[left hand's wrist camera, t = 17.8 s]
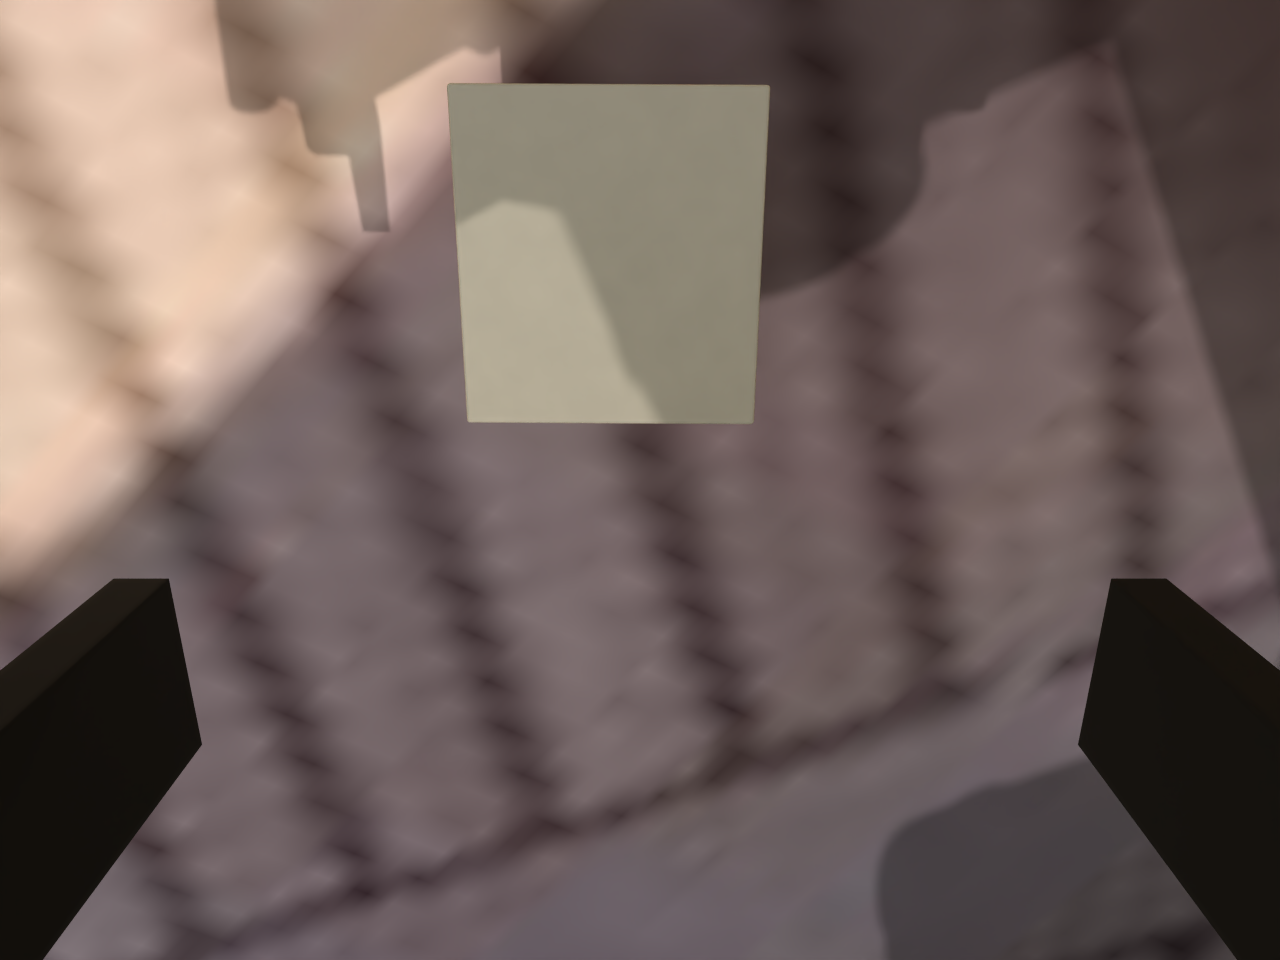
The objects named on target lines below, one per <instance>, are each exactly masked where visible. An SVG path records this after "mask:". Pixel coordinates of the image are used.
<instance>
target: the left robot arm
mask: <svg viewBox="0 0 1280 960" xmlns="http://www.w3.org/2000/svg"><path fill="white" fill-rule="evenodd" d="M201 745H202V743H201V738H200V733H199V728H198V723H197V718H196V713H195V708H194V703H193V698H192V693H191V688H190V683H189V678H188V673H187V668H186V663H185V658H184V653H183V648H182V643H181V638H180V633H179V628H178V623H177V618H176V613H175V608H174V603H173V598H172V593H171V588H170V583H169V579H113V580H111V581H110V582H109V583H108V584H107V585H105V586H104V587H103V588H102V589H100V590H99V591H98V592H97V593H95V594H94V595H93V596H92V597H90V598H89V599H88V600H87V601H86V602H84V603H83V604H82V605H81V606H79V607H78V608H77V609H76V610H74V611H73V612H72V613H71V614H70V615H68V616H67V617H66V618H65V619H63V620H62V621H61V622H60V623H58V624H57V625H56V626H55V627H53V628H52V629H51V630H50V631H49V632H47V633H46V634H45V635H44V636H42V637H41V638H40V639H39V640H37V641H36V642H35V643H34V644H32V645H31V646H30V647H29V648H28V649H26V650H25V651H24V652H23V653H21V654H20V655H19V656H18V657H16V658H15V659H14V660H13V661H11V662H10V663H9V664H8V665H7V666H5V667H4V668H3V669H2V670H0V960H43V959H44V957H45V956H46V955H47V953H48V952H49V951H50V949H51V948H52V947H53V945H54V944H55V943H56V941H57V940H58V938H59V937H60V936H61V934H62V933H63V932H64V930H65V929H66V928H67V926H68V925H69V924H70V922H71V921H72V920H73V918H74V917H75V916H76V914H77V913H78V911H79V910H80V909H81V907H82V906H83V905H84V903H85V902H86V901H87V899H88V898H89V897H90V895H91V894H92V893H93V891H94V890H95V888H96V887H97V886H98V884H99V883H100V882H101V880H102V879H103V878H104V876H105V875H106V874H107V872H108V871H109V870H110V868H111V867H112V865H113V864H114V863H115V861H116V860H117V859H118V857H119V856H120V855H121V853H122V852H123V851H124V849H125V848H126V847H127V845H128V844H129V843H130V841H131V840H132V838H133V837H134V836H135V834H136V833H137V832H138V830H139V829H140V828H141V826H142V825H143V824H144V822H145V821H146V820H147V818H148V817H149V815H150V814H151V813H152V811H153V810H154V809H155V807H156V806H157V805H158V803H159V802H160V801H161V799H162V798H163V797H164V795H165V794H166V792H167V791H168V790H169V788H170V787H171V786H172V784H173V783H174V782H175V780H176V779H177V778H178V776H179V775H180V774H181V772H182V771H183V770H184V768H185V767H186V765H187V764H188V763H189V761H190V760H191V759H192V757H193V756H194V755H195V753H196V752H197V751H198V749H199V748H200V747H201ZM1078 745H1079V747H1080V748H1081V749H1082V751H1083V752H1084V753H1085V755H1086V756H1087V757H1088V759H1089V760H1090V761H1091V763H1092V764H1093V765H1094V767H1095V768H1096V770H1097V771H1098V772H1099V774H1100V775H1101V776H1102V778H1103V779H1104V780H1105V782H1106V783H1107V784H1108V786H1109V787H1110V788H1111V790H1112V791H1113V792H1114V794H1115V795H1116V797H1117V798H1118V799H1119V801H1120V802H1121V803H1122V805H1123V806H1124V807H1125V809H1126V810H1127V811H1128V813H1129V814H1130V815H1131V817H1132V818H1133V820H1134V821H1135V822H1136V824H1137V825H1138V826H1139V828H1140V829H1141V830H1142V832H1143V833H1144V834H1145V836H1146V837H1147V838H1148V840H1149V841H1150V843H1151V844H1152V845H1153V847H1154V848H1155V849H1156V851H1157V852H1158V853H1159V855H1160V856H1161V857H1162V859H1163V860H1164V861H1165V863H1166V864H1167V865H1168V867H1169V868H1170V870H1171V871H1172V872H1173V874H1174V875H1175V876H1176V878H1177V879H1178V880H1179V882H1180V883H1181V884H1182V886H1183V887H1184V888H1185V890H1186V891H1187V893H1188V894H1189V895H1190V897H1191V898H1192V899H1193V901H1194V902H1195V903H1196V905H1197V906H1198V907H1199V909H1200V910H1201V911H1202V913H1203V914H1204V916H1205V917H1206V918H1207V920H1208V921H1209V922H1210V924H1211V925H1212V926H1213V928H1214V929H1215V930H1216V932H1217V933H1218V934H1219V936H1220V937H1221V939H1222V940H1223V941H1224V943H1225V944H1226V945H1227V947H1228V948H1229V949H1230V951H1231V952H1232V953H1233V955H1234V956H1235V957H1236V959H1237V960H1280V670H1278V669H1277V668H1276V667H1275V666H1273V665H1272V664H1271V663H1270V662H1269V661H1267V660H1266V659H1265V658H1264V657H1262V656H1261V655H1260V654H1259V653H1257V652H1256V651H1255V650H1254V649H1252V648H1251V647H1250V646H1249V645H1248V644H1246V643H1245V642H1244V641H1243V640H1241V639H1240V638H1239V637H1238V636H1236V635H1235V634H1234V633H1233V632H1231V631H1230V630H1229V629H1228V628H1227V627H1225V626H1224V625H1223V624H1222V623H1220V622H1219V621H1218V620H1217V619H1215V618H1214V617H1213V616H1212V615H1210V614H1209V613H1208V612H1207V611H1206V610H1204V609H1203V608H1202V607H1201V606H1199V605H1198V604H1197V603H1196V602H1194V601H1193V600H1192V599H1191V598H1190V597H1188V596H1187V595H1186V594H1185V593H1183V592H1182V591H1181V590H1180V589H1178V588H1177V587H1176V586H1175V585H1173V584H1172V583H1171V582H1170V581H1169V580H1167V579H1111V583H1110V588H1109V593H1108V598H1107V603H1106V608H1105V613H1104V618H1103V623H1102V628H1101V633H1100V638H1099V643H1098V648H1097V653H1096V658H1095V663H1094V668H1093V673H1092V678H1091V683H1090V688H1089V693H1088V698H1087V703H1086V708H1085V713H1084V718H1083V723H1082V728H1081V733H1080V738H1079V742H1078Z"/></svg>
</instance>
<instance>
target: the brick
mask: <svg viewBox="0 0 1280 960" xmlns="http://www.w3.org/2000/svg"><path fill="white" fill-rule="evenodd" d="M447 94H448V110H449V127H450V143H451V159H452V176H453V192H454V209H455V225H456V242H457V258H458V275H459V291H460V307H461V324H462V340H463V357H464V373H465V390H466V406H467V420H468V422H501V423H664V424H752V423H753V422H754V408H755V387H756V367H757V347H758V326H759V306H760V286H761V265H762V245H763V224H764V204H765V184H766V163H767V143H768V123H769V102H770V86H769V85H691V84H503V83H449V84H448V85H447Z"/></svg>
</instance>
